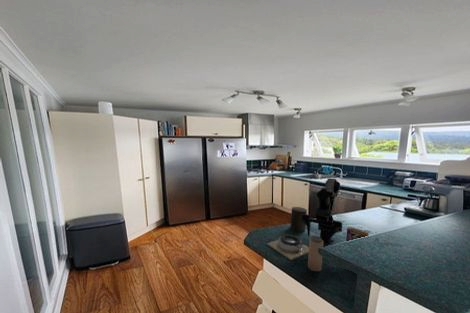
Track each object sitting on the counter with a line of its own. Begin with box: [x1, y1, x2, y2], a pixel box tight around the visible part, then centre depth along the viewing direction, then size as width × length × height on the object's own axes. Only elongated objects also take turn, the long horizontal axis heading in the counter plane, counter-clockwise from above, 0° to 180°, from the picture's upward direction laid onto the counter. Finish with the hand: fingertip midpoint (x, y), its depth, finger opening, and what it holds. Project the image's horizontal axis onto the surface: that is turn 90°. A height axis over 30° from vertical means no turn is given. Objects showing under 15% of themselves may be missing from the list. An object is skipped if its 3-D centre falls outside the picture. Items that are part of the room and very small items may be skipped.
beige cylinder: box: [307, 235, 324, 272], centre depth 96 cm, size 6×6×14 cm
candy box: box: [345, 226, 370, 242], centre depth 103 cm, size 9×4×15 cm, turn 47°
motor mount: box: [267, 234, 309, 261], centre depth 113 cm, size 17×17×5 cm
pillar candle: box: [289, 206, 308, 233], centre depth 138 cm, size 10×10×15 cm
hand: (318, 238), depth 100 cm, fingers open, 9 cm apart
